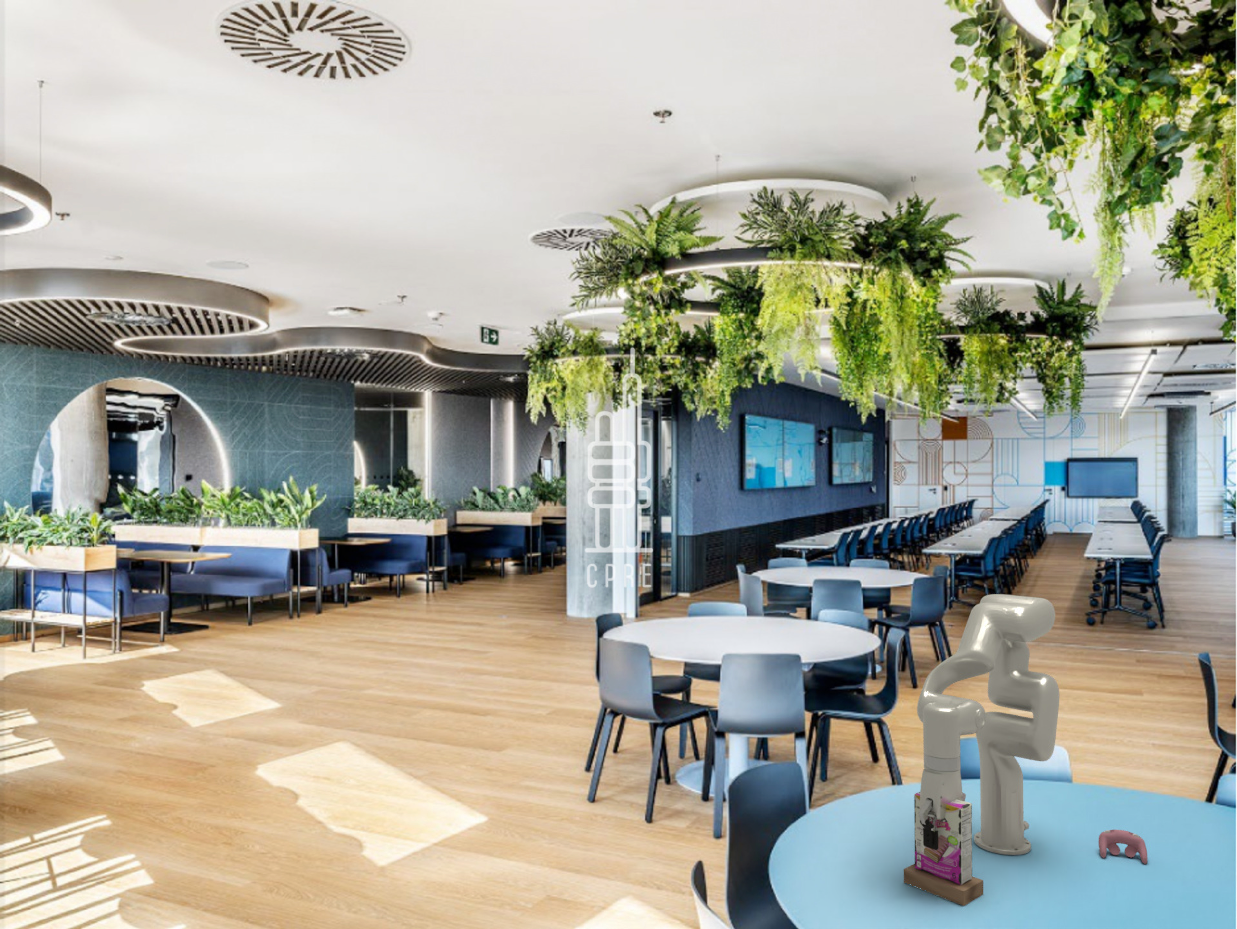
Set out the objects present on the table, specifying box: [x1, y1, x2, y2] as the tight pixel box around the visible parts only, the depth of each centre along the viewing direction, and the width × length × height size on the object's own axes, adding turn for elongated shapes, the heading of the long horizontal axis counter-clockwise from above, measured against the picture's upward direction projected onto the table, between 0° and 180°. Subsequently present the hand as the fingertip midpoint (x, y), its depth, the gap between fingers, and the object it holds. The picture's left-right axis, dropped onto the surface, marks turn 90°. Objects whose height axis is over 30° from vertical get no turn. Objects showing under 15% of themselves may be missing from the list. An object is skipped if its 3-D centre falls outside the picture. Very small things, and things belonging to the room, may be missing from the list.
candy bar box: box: [913, 791, 973, 885], centre depth 192 cm, size 11×5×16 cm, turn 40°
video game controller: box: [1098, 829, 1148, 865], centre depth 208 cm, size 10×5×7 cm, turn 67°
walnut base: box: [903, 863, 984, 907], centre depth 192 cm, size 8×14×3 cm, turn 40°
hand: (943, 841), depth 192 cm, fingers open, 9 cm apart
